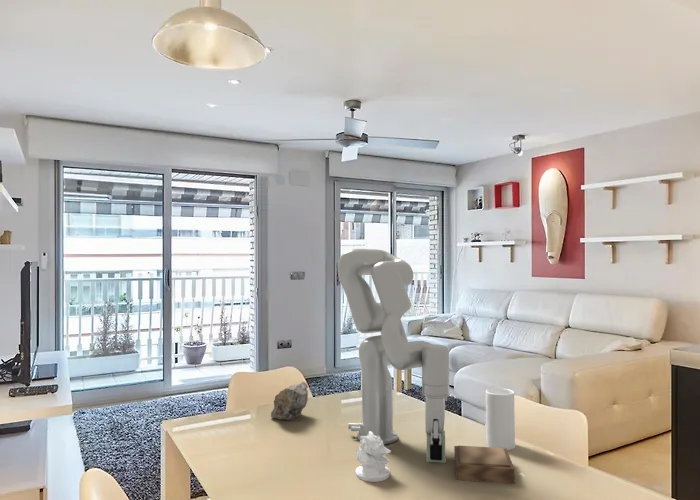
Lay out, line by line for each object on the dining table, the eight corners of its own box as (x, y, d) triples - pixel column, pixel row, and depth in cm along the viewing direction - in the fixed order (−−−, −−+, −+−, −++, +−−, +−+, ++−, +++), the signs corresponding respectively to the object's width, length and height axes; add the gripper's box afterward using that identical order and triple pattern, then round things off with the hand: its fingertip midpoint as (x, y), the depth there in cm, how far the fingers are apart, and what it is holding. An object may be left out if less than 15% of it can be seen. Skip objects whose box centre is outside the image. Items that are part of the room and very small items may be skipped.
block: (426, 461, 137) (426, 435, 137) (427, 454, 142) (426, 429, 142) (445, 462, 136) (445, 436, 136) (444, 455, 141) (444, 430, 141)
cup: (516, 451, 145) (515, 395, 145) (487, 449, 146) (486, 393, 147) (513, 441, 153) (512, 388, 153) (485, 439, 154) (484, 387, 155)
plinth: (456, 479, 125) (456, 463, 125) (454, 458, 139) (454, 443, 139) (514, 483, 123) (514, 467, 123) (506, 461, 137) (506, 446, 137)
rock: (284, 405, 188) (300, 371, 185) (304, 419, 184) (321, 385, 182) (259, 418, 172) (276, 381, 170) (281, 434, 169) (299, 397, 166)
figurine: (387, 485, 122) (387, 442, 122) (350, 482, 124) (350, 439, 124) (394, 466, 133) (394, 427, 134) (360, 463, 136) (360, 424, 136)
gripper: (422, 382, 148) (423, 444, 148) (421, 397, 132) (421, 466, 131) (448, 383, 147) (448, 445, 147) (450, 398, 130) (450, 468, 130)
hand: (435, 454), depth 139 cm, fingers closed on block, 5 cm apart
